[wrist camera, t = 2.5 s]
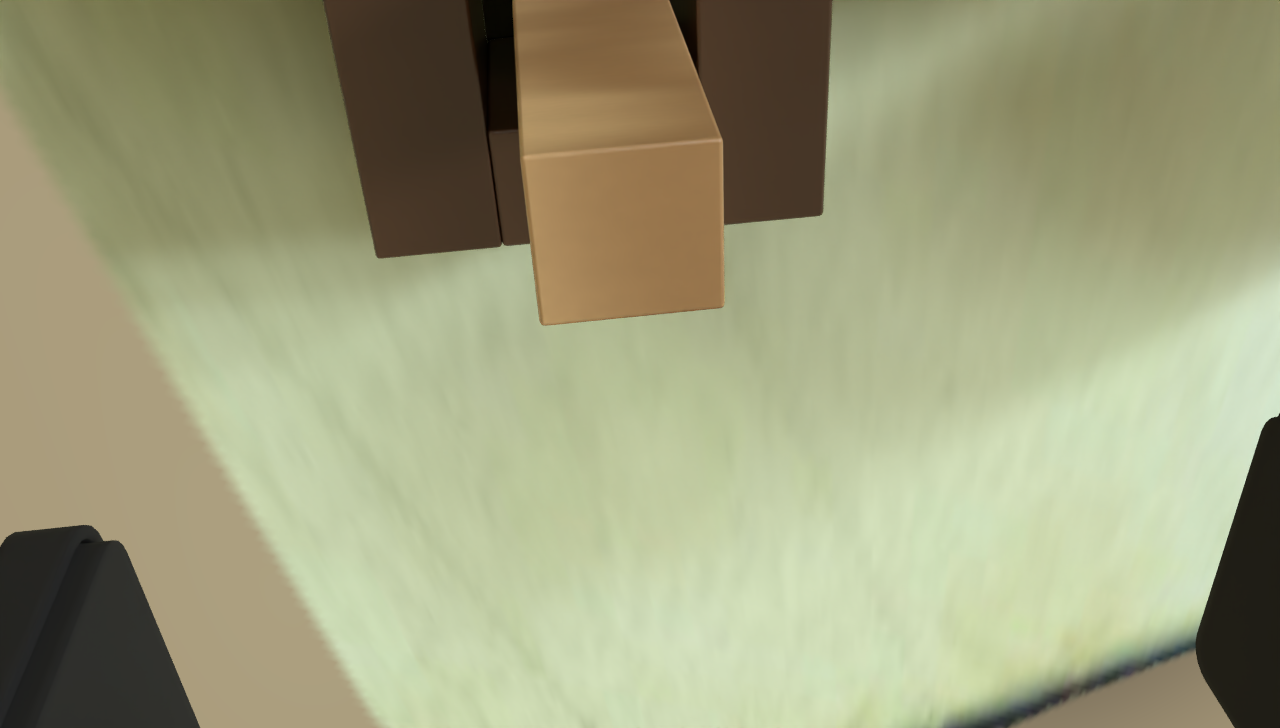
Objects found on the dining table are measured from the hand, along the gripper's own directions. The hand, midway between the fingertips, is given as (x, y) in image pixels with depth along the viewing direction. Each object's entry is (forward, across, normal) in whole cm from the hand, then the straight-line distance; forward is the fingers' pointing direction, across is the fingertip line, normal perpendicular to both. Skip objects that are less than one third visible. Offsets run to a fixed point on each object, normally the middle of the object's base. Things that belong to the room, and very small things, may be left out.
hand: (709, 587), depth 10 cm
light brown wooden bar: (+19, 0, 0) cm, 19 cm away
